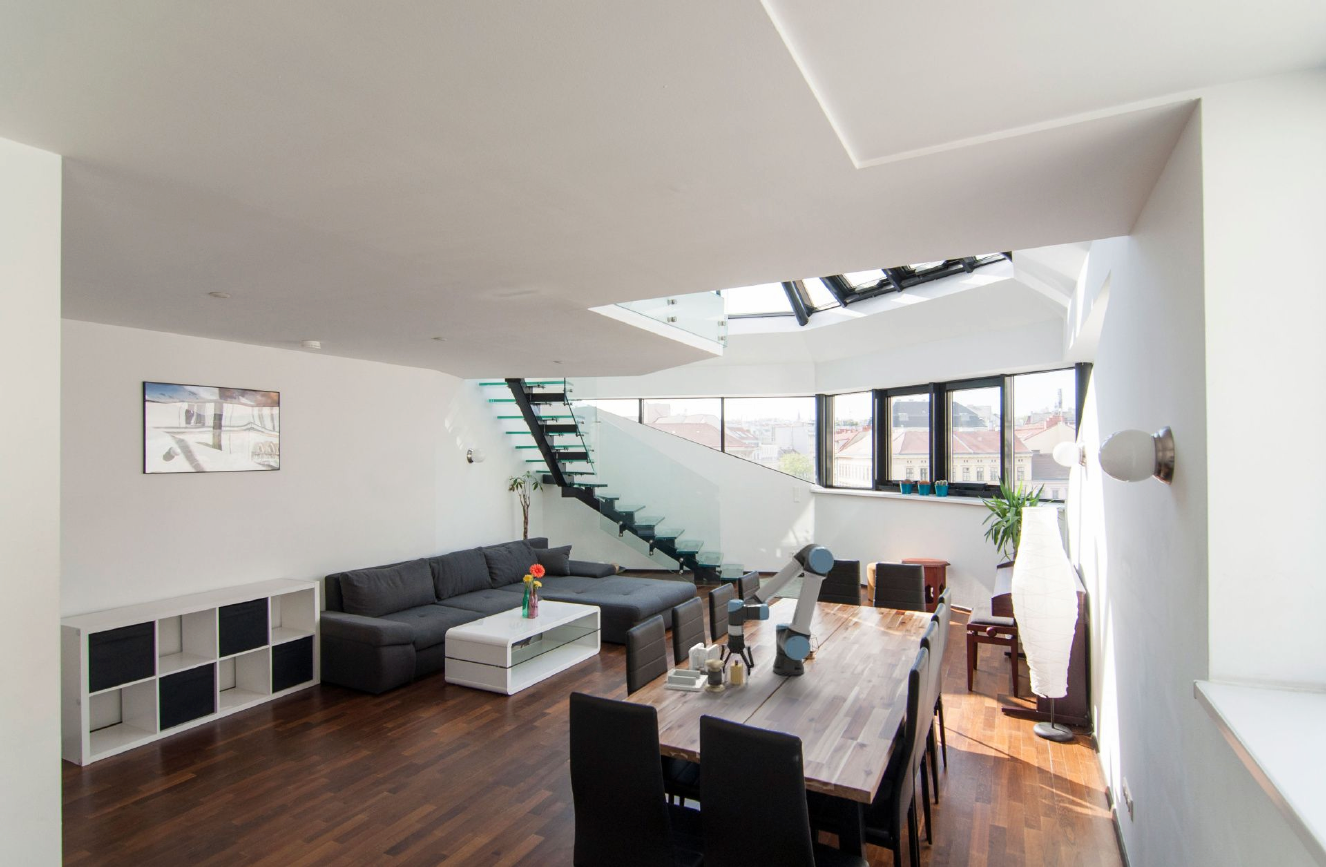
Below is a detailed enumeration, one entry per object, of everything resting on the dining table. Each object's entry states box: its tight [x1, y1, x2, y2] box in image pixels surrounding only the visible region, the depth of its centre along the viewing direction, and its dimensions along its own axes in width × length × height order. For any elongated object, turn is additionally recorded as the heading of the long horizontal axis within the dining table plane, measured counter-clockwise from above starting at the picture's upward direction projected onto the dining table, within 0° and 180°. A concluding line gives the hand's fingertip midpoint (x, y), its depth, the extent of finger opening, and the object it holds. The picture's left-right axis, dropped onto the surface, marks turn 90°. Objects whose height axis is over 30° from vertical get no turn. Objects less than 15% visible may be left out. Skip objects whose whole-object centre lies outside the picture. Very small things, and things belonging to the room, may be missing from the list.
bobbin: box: [704, 659, 726, 693], centre depth 306 cm, size 9×9×12 cm
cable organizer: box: [688, 642, 720, 674], centre depth 334 cm, size 15×11×12 cm
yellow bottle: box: [729, 659, 744, 685], centre depth 315 cm, size 5×5×10 cm
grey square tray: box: [665, 668, 708, 692], centre depth 314 cm, size 16×18×4 cm
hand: (736, 681), depth 315 cm, fingers open, 9 cm apart
